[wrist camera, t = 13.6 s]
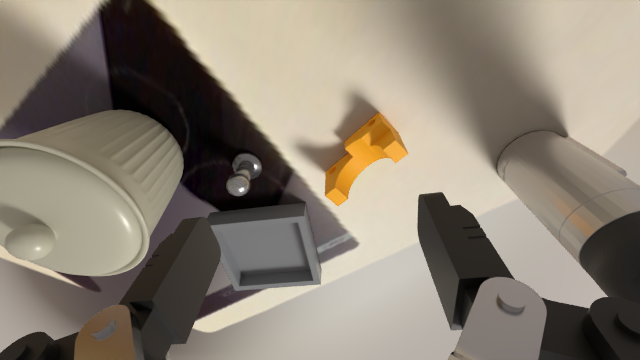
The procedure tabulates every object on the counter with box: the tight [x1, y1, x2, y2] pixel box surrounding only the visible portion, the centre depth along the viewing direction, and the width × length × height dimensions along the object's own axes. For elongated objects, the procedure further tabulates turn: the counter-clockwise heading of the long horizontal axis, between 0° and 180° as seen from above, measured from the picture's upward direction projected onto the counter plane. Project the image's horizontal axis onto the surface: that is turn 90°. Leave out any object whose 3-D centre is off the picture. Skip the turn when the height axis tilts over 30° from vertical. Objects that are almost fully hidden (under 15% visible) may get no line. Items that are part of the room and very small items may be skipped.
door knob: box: [226, 152, 262, 196], centre depth 42 cm, size 4×4×7 cm
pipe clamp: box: [325, 112, 408, 206], centre depth 40 cm, size 12×4×6 cm, turn 135°
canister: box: [0, 110, 184, 276], centre depth 35 cm, size 18×18×21 cm
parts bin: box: [207, 202, 321, 291], centre depth 52 cm, size 17×17×4 cm
